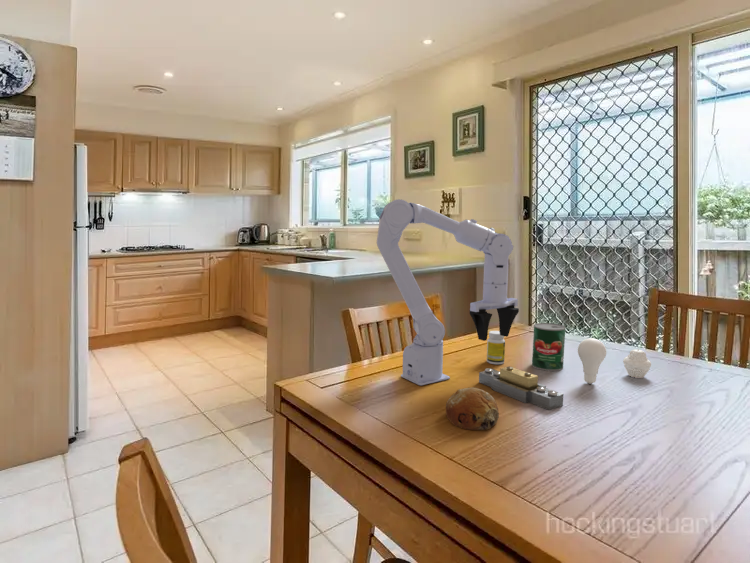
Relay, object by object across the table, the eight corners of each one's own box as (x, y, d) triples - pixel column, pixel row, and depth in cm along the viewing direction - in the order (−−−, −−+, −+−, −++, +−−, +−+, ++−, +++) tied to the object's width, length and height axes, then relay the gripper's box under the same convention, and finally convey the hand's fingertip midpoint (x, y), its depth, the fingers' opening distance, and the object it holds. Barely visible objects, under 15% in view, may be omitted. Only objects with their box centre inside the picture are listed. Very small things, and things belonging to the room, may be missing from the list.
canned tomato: (538, 371, 119) (540, 329, 117) (527, 361, 126) (529, 322, 125) (568, 371, 119) (570, 329, 117) (556, 361, 126) (558, 322, 125)
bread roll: (492, 430, 93) (488, 389, 95) (508, 430, 83) (503, 384, 85) (443, 430, 92) (441, 390, 95) (453, 430, 83) (451, 385, 85)
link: (528, 400, 99) (529, 376, 98) (499, 389, 105) (500, 366, 105) (537, 398, 100) (538, 374, 100) (508, 387, 107) (509, 364, 106)
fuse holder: (545, 411, 93) (546, 396, 93) (475, 383, 109) (476, 370, 109) (565, 404, 97) (566, 390, 96) (495, 378, 113) (495, 366, 112)
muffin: (655, 378, 113) (658, 350, 113) (640, 381, 111) (642, 353, 110) (632, 371, 119) (634, 344, 118) (616, 374, 116) (618, 347, 115)
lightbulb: (588, 389, 106) (591, 342, 104) (570, 380, 111) (572, 336, 110) (610, 386, 107) (613, 341, 106) (591, 378, 113) (594, 334, 112)
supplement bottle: (506, 364, 124) (507, 334, 122) (488, 364, 124) (489, 334, 123) (501, 359, 128) (503, 330, 127) (484, 359, 128) (485, 330, 127)
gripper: (486, 286, 104) (484, 345, 105) (528, 282, 112) (526, 337, 113) (464, 283, 110) (462, 338, 111) (506, 279, 117) (504, 331, 119)
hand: (493, 337), depth 113 cm, fingers open, 7 cm apart
